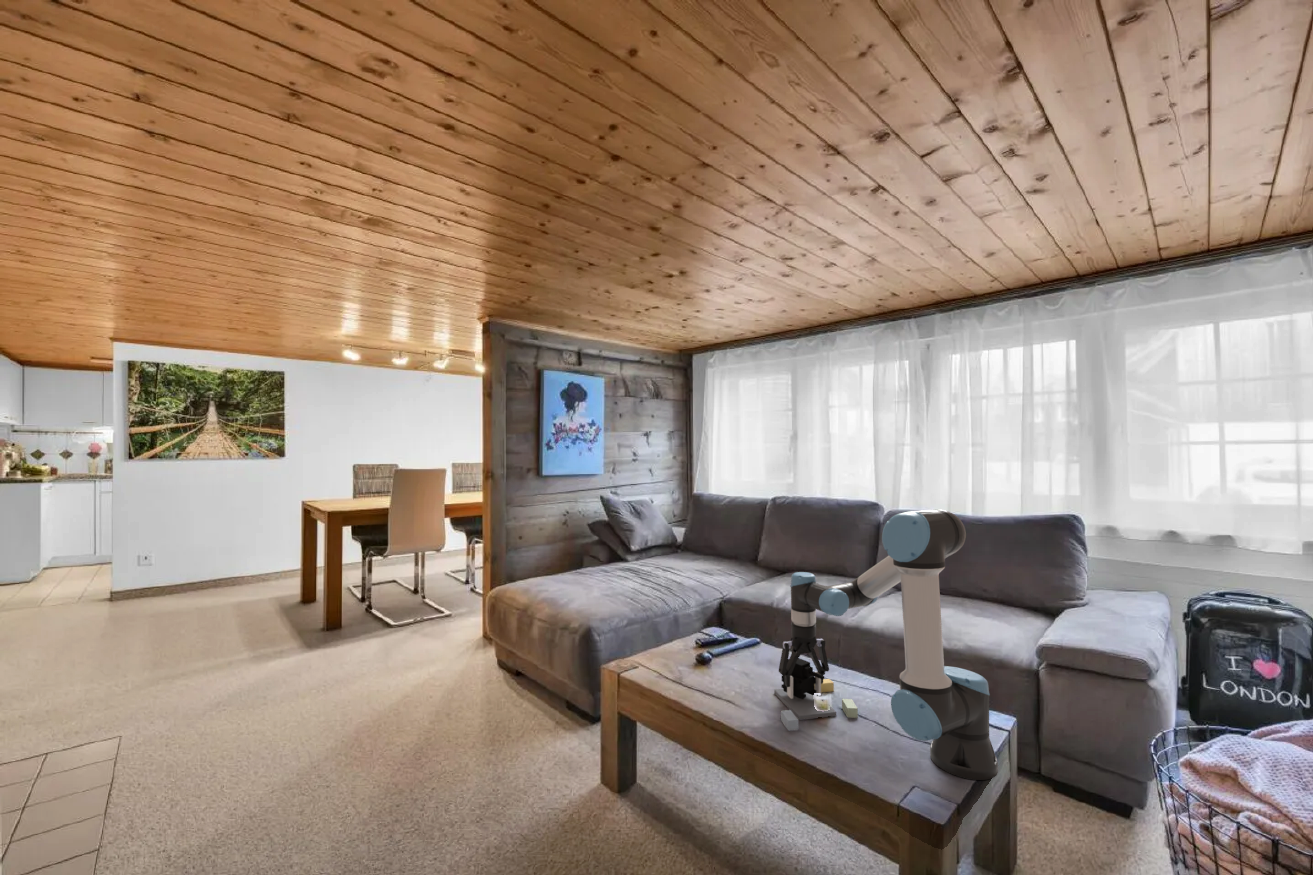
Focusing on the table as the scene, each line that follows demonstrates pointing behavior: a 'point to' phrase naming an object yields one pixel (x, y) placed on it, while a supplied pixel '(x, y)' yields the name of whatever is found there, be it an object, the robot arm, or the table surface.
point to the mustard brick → (827, 685)
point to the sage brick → (849, 708)
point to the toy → (802, 679)
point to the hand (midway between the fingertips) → (804, 695)
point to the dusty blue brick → (789, 720)
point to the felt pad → (802, 706)
